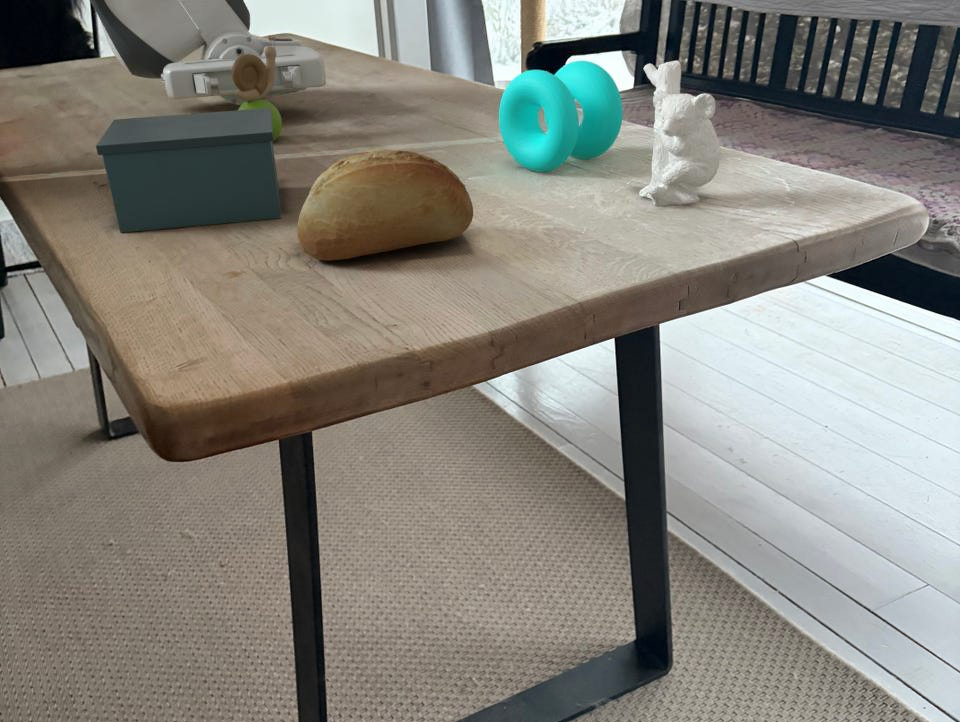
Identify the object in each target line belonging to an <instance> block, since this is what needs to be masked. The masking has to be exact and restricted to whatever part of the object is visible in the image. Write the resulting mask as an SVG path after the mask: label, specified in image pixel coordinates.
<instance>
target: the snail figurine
mask: <svg viewBox="0 0 960 722" xmlns="http://www.w3.org/2000/svg"><path fill="white" fill-rule="evenodd" d="M267 38H268V39H269V40H270V42H271V40H273V41H274V40H275V39H276V36H275V35H271V34H270V35H267ZM265 56H266V66H265V64H264V63H263V61H262V60H261V59H260V58H258V57H257V56H255V55H252V54H245V55H242V56H240V57H238V58H237V59H236V61H235V62H234V64H233V67H232V80H233V82H234V84H235V86H236V87H237V88H238V89H239V90H240V91H241V92H236V95H237V96H238V97H239V98H240V99H241V100H243V101H245V102H244V103H243V104H242V105H239V107H238V109H237V110H251V109H264V108H271V114H272V126H273V141H272V143H273V142H275V141H276V140H277V139H278V138H279V136H280V134H281V132H282V128H283V122H282V121H283V120H282V116H281V113H280V112H279V110H278V108H277V107H276V106H275V104H274V103H272V102H270V101H269V100H267V99H263V98H264V97H265V96H266V95H267V94H268V93H269V92H270V91H271V89H272V87H273V84H274V80H275V69H276V63H275V58H276V49H275V43H274V47H272V45H271V46H268V47H267V48H266V49H265Z"/></svg>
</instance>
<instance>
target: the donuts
mask: <svg viewBox="0 0 960 722" xmlns="http://www.w3.org/2000/svg"><path fill="white" fill-rule="evenodd" d="M576 101H577V102H578V104H579V105H580V107H581V111H582V119H581V122H580V119H579V112H578V107H577V104H576ZM541 108H542V110H543V116H544V122H545V126H546V129H547V132H545V131H544V130H543V129H542V127H541V124H540V120H539V113H540V110H541ZM623 115H624V111H623V101H622V97H621V94H620V89H619V88H618V85H617V83H616V82H615V80H614V79H613V77H612V76H611V74H610V73H609V72H608V71H607V70H606V69H604V68H603V67H602V66H601V65H599V64H597V63H595V62H592V61H588V60H576V61H571V62H569V63H566V64H565V65H563V66H562V67H561V68H559V69H558V70H557V72H555V73H554V74H553V73H551V72H549V71H547V70H542V69H529V70H525V71H523V72H521V73H519V74H517V75H516V76H515V77H514V78H513V79H511V80H510V82H509V83H508V85H507V86H506V87H505V89H504V91H503V93H502V96H501V99H500V104H499V109H498V124H499V125H498V126H499V131H500V135H501V138H502V141H503V143H504V146H505V148H506V150H507V151H508V153H509V155H510V156H511V157H512V158H513V159H514V160H515V162H516V163H517V164H519V165H520V166H521V167H523V168H524V169H527V170H528V171H532V172H535V173H536V172H537V173H547V172H551V171H554V170H556V169H558V168H559V167H561V166H562V165H563V164H565V163H566V162H567V160H568V159H569V158H570V157H571V158H575V159H579V160H591V159H595V158H598V157H600V156H602V155H603V154H605V153H606V152H607V151H609V150H610V148H611V147H612V146H613V145H614V143H615V141H616V140H617V138H618V136H619V134H620V132H621V127H622V124H623V117H624V116H623Z"/></svg>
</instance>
